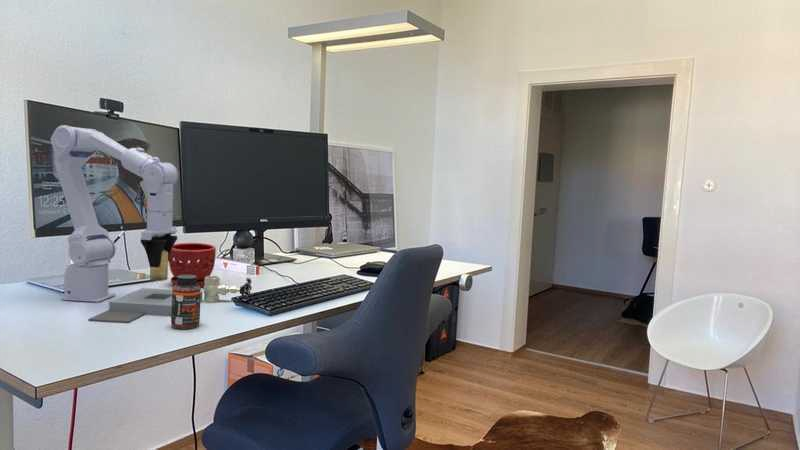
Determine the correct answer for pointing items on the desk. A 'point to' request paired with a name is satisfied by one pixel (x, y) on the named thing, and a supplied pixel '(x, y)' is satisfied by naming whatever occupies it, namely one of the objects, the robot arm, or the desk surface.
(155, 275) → the brass cover
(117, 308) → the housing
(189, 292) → the supplement bottle
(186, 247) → the plant pot
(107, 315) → the rubber mat
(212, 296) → the valve
